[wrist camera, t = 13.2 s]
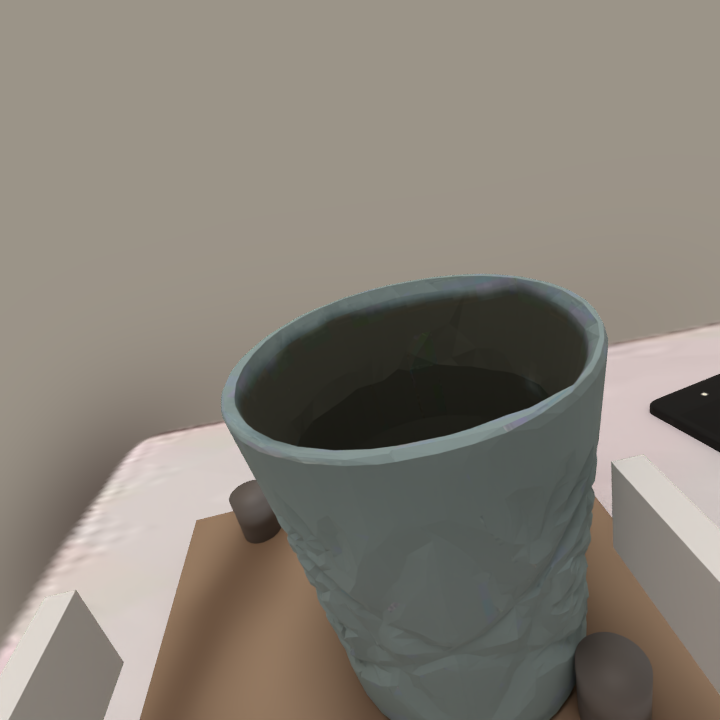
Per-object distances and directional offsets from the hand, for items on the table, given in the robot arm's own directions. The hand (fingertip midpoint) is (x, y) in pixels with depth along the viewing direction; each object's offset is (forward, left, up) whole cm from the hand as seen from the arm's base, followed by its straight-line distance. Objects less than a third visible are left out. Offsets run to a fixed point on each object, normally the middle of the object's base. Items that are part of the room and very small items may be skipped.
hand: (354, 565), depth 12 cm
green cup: (-3, -4, -8) cm, 9 cm away
